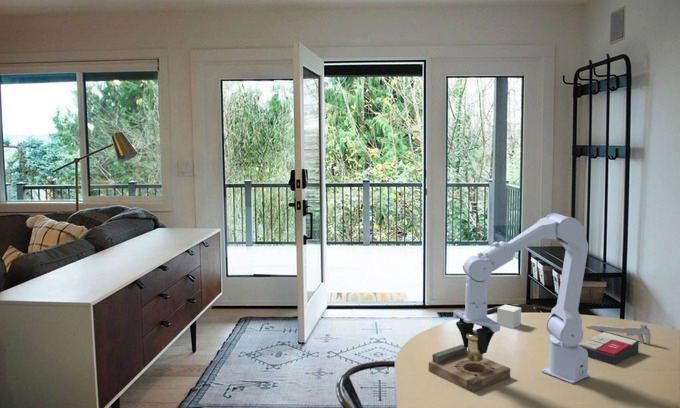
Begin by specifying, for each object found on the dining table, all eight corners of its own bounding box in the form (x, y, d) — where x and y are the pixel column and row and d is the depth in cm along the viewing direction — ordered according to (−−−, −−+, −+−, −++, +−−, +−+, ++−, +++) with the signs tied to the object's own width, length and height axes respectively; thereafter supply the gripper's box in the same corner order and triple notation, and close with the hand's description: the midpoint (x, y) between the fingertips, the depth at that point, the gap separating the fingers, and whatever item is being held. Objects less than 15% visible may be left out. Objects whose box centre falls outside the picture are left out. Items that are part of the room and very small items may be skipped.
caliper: (650, 345, 167) (651, 326, 166) (648, 346, 166) (649, 326, 165) (587, 327, 183) (588, 309, 182) (586, 328, 182) (586, 310, 182)
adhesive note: (513, 328, 182) (513, 311, 182) (497, 325, 186) (497, 308, 186) (520, 324, 187) (521, 307, 186) (504, 320, 191) (505, 304, 190)
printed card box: (577, 343, 160) (602, 329, 169) (577, 356, 160) (602, 342, 169) (614, 354, 151) (639, 339, 160) (614, 368, 152) (638, 353, 160)
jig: (510, 377, 145) (510, 361, 144) (472, 392, 136) (472, 375, 136) (465, 358, 158) (465, 343, 157) (428, 370, 149) (428, 355, 149)
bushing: (488, 359, 145) (489, 334, 144) (476, 363, 142) (476, 338, 141) (474, 352, 149) (474, 328, 148) (462, 357, 146) (462, 332, 145)
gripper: (445, 297, 147) (445, 344, 148) (487, 310, 135) (486, 362, 137) (463, 293, 151) (462, 339, 152) (505, 305, 139) (504, 355, 141)
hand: (475, 349), depth 145 cm, fingers closed on bushing, 5 cm apart
